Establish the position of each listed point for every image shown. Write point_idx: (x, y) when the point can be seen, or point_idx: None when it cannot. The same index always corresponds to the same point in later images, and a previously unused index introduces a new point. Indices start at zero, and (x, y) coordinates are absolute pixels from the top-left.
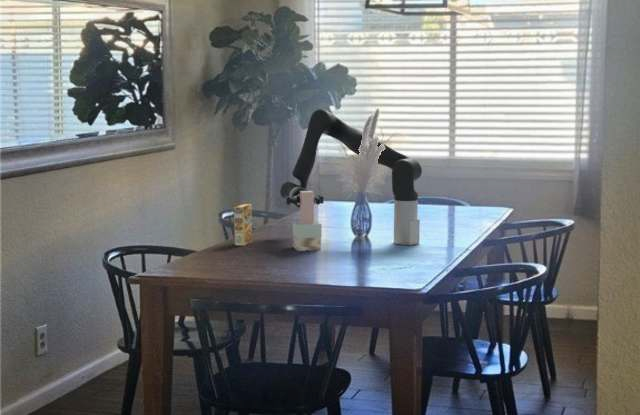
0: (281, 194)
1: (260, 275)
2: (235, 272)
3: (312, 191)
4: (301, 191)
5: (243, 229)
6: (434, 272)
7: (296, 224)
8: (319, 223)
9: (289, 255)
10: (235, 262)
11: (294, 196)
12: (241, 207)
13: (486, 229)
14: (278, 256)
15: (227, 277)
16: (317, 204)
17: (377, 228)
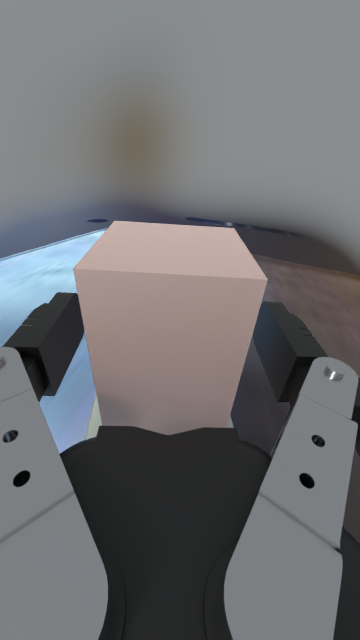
0: None
1: (272, 275)
2: (315, 290)
3: (101, 238)
4: (240, 255)
5: None
6: (34, 253)
7: (232, 425)
8: (93, 418)
9: (238, 387)
10: (355, 342)
11: (346, 416)
12: None
13: None
14: (269, 381)
15: (315, 275)
16: (81, 337)
17: None
